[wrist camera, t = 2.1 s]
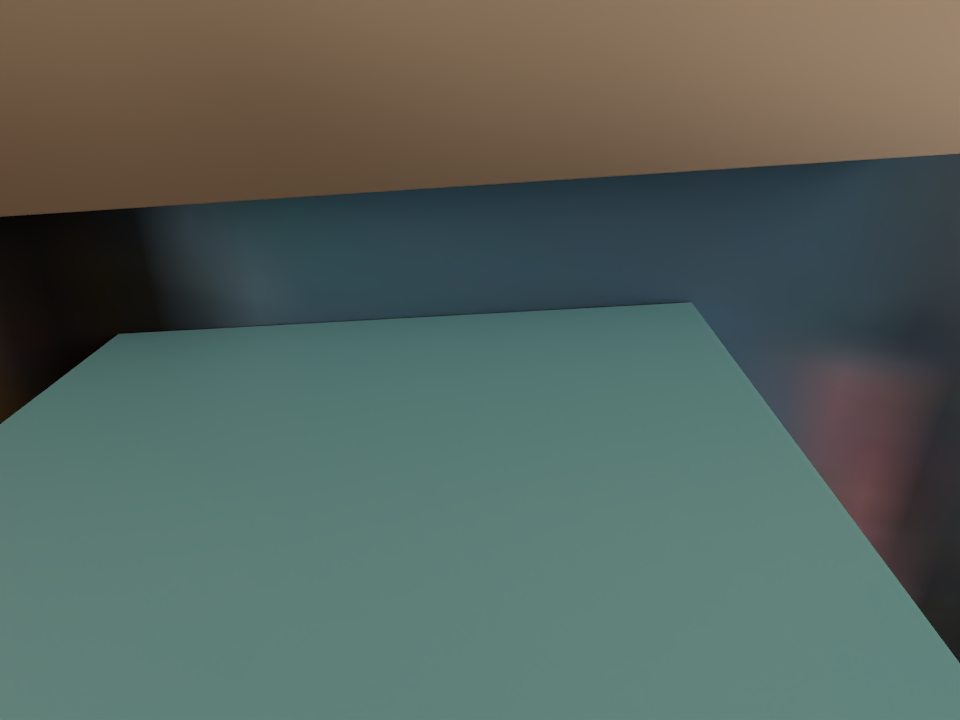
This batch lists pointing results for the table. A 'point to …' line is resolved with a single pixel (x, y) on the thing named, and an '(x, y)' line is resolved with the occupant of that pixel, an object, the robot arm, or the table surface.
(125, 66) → the post base
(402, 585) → the collar
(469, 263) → the table surface
